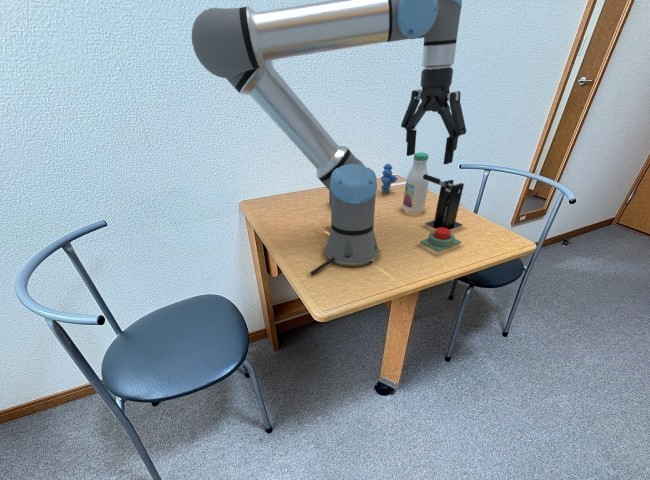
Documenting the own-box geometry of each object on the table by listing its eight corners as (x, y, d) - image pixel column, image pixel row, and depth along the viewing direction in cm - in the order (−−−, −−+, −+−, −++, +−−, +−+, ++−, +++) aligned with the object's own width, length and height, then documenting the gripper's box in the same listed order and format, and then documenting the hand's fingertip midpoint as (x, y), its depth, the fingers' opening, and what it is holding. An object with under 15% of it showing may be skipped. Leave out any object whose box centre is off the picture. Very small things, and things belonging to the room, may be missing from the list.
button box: (437, 255, 94) (439, 245, 92) (419, 245, 99) (420, 235, 97) (460, 246, 98) (463, 236, 96) (441, 237, 103) (444, 227, 101)
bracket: (442, 235, 104) (451, 189, 95) (423, 226, 109) (431, 182, 100) (462, 228, 108) (474, 183, 99) (444, 220, 114) (453, 176, 105)
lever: (435, 185, 92) (439, 176, 91) (421, 180, 96) (425, 171, 95) (459, 196, 100) (462, 188, 100) (445, 191, 104) (448, 183, 103)
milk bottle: (422, 208, 122) (431, 151, 110) (424, 216, 116) (435, 157, 104) (401, 207, 123) (408, 150, 111) (402, 215, 117) (410, 156, 105)
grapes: (394, 198, 130) (397, 167, 123) (377, 197, 131) (379, 166, 124) (397, 189, 139) (400, 159, 131) (381, 188, 140) (384, 158, 133)
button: (442, 241, 94) (443, 235, 93) (430, 236, 97) (432, 229, 96) (452, 237, 96) (454, 231, 95) (441, 232, 99) (442, 226, 98)
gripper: (492, 65, 73) (474, 163, 86) (410, 66, 89) (405, 149, 102) (472, 68, 70) (456, 170, 83) (390, 69, 86) (388, 154, 99)
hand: (428, 158), depth 93 cm, fingers open, 13 cm apart
